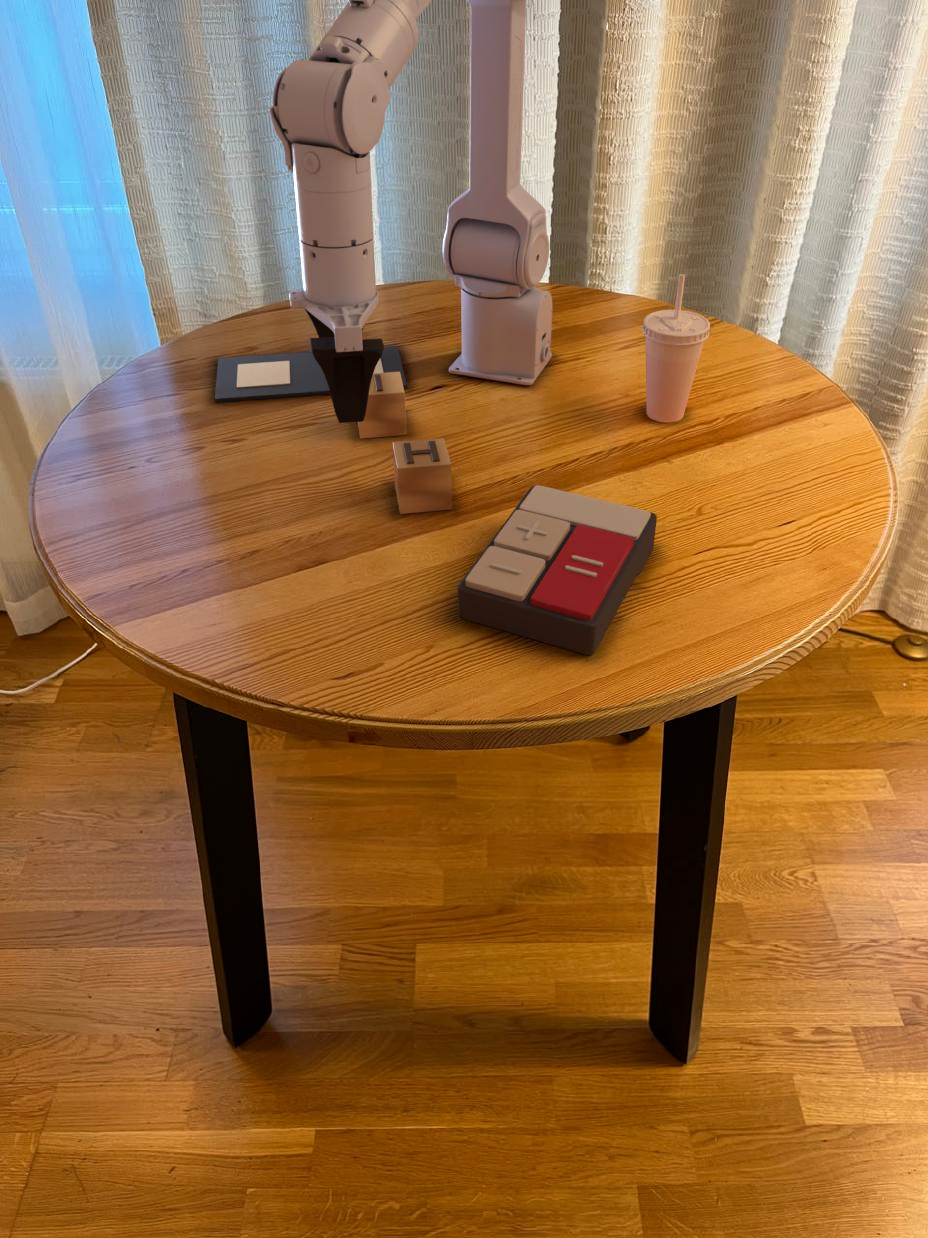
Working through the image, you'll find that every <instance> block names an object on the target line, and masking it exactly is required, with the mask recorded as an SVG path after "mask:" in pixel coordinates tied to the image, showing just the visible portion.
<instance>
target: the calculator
mask: <svg viewBox="0 0 928 1238" xmlns="http://www.w3.org/2000/svg"><path fill="white" fill-rule="evenodd" d="M657 521H658V516H657V514H656V513H654V512H651V511H648V510H644V509H641V508H637V507H633V506H628V505H624V504H619V503H615V502H612V501H608V500H603V499H598V498H593V497H590V496H586V495H582V494H577V493H573V492H569V491H565V490H561V489H557V488H553V487H548V486H545V485H539V484H535V485H532V486H531V487H529V489H528V490H527V492H526V493H525V494H524V496H523V497H522V498H521V500H520V501H519V502H518V504H517V505H516V506H515V508H514V509H513V510H512V512H511V513H510V515H509V516H508V517H507V519H506V520H505V521H504V523H503V524H502V526H501V527H500V528H499V529H498V531H497V532H496V534H495V535H494V536H493V538H492V539H491V541H489V543H488V544H487V545H486V547H485V549H484V550H483V551H482V553H481V554H480V555H479V557H477V559H476V561H474V564H473V565H472V566H471V568H470V569H469V570H468V571H467V573H466V574H465V576H464V577H463V578H462V580H461V581H460V582H459V584H458V585H457V605H458V606H457V607H458V609H457V610H458V616H459V618H461V619H464V620H466V621H470V622H473V623H477V624H480V625H483V626H487V627H489V628H494V629H497V630H500V631H504V632H507V633H509V634H510V633H511V634H514V635H518V636H521V637H524V638H527V639H531V640H535V641H538V642H541V643H545V644H547V645H552V646H555V647H557V648H561V649H564V650H568V651H572V652H575V653H578V654H581V655H585V656H591V655H594V654H595V652H596V651H597V649H598V648H599V646H600V644H601V642H602V640H603V638H604V636H605V634H606V633H607V631H608V629H609V627H610V626H611V623H612V622H613V620H614V618H615V616H616V615H617V612H618V610H619V609H620V607H621V605H622V603H623V601H624V600H625V598H626V596H627V595H628V593H629V591H630V588H631V587H632V585H633V583H634V582H635V579H637V576H638V575H639V574H641V573H642V571H643V570H644V568H645V565H646V564H647V562H648V560H649V558H650V557H651V555H652V553H653V551H654V545H655V538H656V537H655V536H656V529H657Z"/></svg>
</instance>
